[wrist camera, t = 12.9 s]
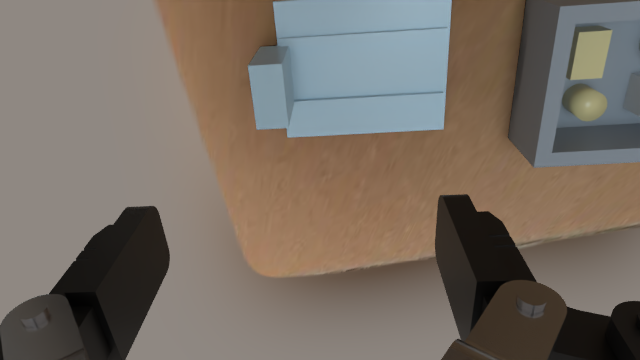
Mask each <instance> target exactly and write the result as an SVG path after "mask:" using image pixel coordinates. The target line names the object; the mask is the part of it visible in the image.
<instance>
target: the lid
mask: <svg viewBox="0 0 640 360" xmlns="http://www.w3.org/2000/svg"><path fill="white" fill-rule="evenodd" d="M451 4H452V0H284V1H273V8H274V17H275V26H276V35H277V45H278V46H263V47H260V48H259V49H258V51H257V52H256V54H255V56H254V57H253V59H252V60H251V62H250V63H249V65H248V71H249V78H250V85H251V92H252V99H253V106H254V113H255V120H256V127H257V130H260V129H279V128H287V137H288V138H289V137H308V136H327V135H345V134H364V133H383V132H402V131H421V130H439V129H444V114H445V98H446V83H447V67H448V51H449V35H450V20H451Z"/></svg>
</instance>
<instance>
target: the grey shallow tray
mask: <svg viewBox="0 0 640 360" xmlns="http://www.w3.org/2000/svg"><path fill="white" fill-rule="evenodd" d="M508 138H509V139H510V141H511V142H512V143H513V144H514V145H515V146H516V148H517V149H518V150H519V151H520V152H521V153H522V154H523V156H524V157H525V158H526V159H527V160H528V161H529V163H530V164H531V165H532V166H533V167H534V168H535V167H554V166H572V165H591V164H610V163H629V162H640V0H526V5H525V12H524V20H523V28H522V35H521V43H520V50H519V58H518V66H517V73H516V81H515V88H514V96H513V104H512V111H511V119H510V127H509V134H508Z"/></svg>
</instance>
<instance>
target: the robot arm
mask: <svg viewBox="0 0 640 360" xmlns="http://www.w3.org/2000/svg"><path fill="white" fill-rule="evenodd" d="M435 252H436V259H437V264H438V267H439V270H440V273H441V277H442V279H443V283H444V286H445V289H446V293H447V296H448V299H449V302H450V306H451V309H452V312H453V315H454V318H455V321H456V325H457V328H458V331H459V334H460V338H461V340H460V339H457V340H455V341H454V342H453V343H452V345H451V346H450V347H449V349H448V350H447V352H446V354H445V355H444V356H443V358H442V359H441V360H640V301H628V302H623V303H621V304H618V305H617V306H616V307H615V308H614V309H613V312H612V314H611V317H609V316H604V315H599V314H594V313H589V312H584V311H580V310H576V309H573V308H569V307H567V306H566V304H565V302H564V300H563V299H562V298H561V296H560V295H559V294H558V293H557V292H555V291H554V290H552V289H551V288H549V287H547V286H545V285H543V284H541V283H537V282H536V280H535V278H534V276H533V275H532V273H531V271H530V269H529V268H528V266H527V264H526V262H525V261H524V259H523V257H522V255H521V254H520V252H519V250H518V248H517V247H515V243H514V241H513V240H512V238H511V237H510V236H509V233H508V231H507V229H506V227H505V226H504V224H503V222H502V221H500V220H499V219H498V218H496V217H495V216H494V215H492V214H491V213H490V212H488V211H486V212H477V211H476V209H475V207H474V205H473V203H472V201H471V199H470V197H469V196H468V195H467V194H464V195H441V196H440V197H439V200H438V210H437V224H436V237H435ZM169 261H170V254H169V248H168V245H167V241H166V238H165V234H164V230H163V226H162V223H161V219H160V215H159V212H158V210H157V208H156V207H154V206H144V207H127V208H126V209H125V210H124V211H123V212H122V214H121V215H120V217H119V218H118V219H117V221H116V222H115V223H114V225H108V226H107V227H105V228H104V229H102V230H101V231H100V232H98V233H97V234H95V235H94V236H93V237H92V238H91V240H90V241H89V242H88V244H87V245H86V246H85V248H84V251H82V252H81V253H80V254H79V255H78V257H77V258H76V261H74V262H73V263H72V264H71V266H70V267H69V268H68V270H67V271H66V272H65V274H64V275H63V276H62V278H61V279H60V280H59V281H58V283H57V284H56V285H55V287H54V288H53V289H52V290H51V292H50V293H49V294H46V295H41V296H37V297H35V298H32V299H29V300H27V301H25V302H23V303H22V304H20V305H18V306H17V307H15V308H14V309H13V310H12V311H10V312H9V314H7V315H6V317H5V318H4V319H3V321H2V323H1V325H0V360H125V359H126V357H127V355H128V353H129V350H130V348H131V346H132V344H133V342H134V340H135V338H136V336H137V334H138V331H139V330H140V328H141V325H142V323H143V321H144V319H145V317H146V315H147V313H148V311H149V309H150V306H151V304H152V302H153V300H154V298H155V296H156V294H157V292H158V290H159V287H160V286H161V284H162V281H163V279H164V277H165V275H166V273H167V270H168V268H169Z"/></svg>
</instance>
